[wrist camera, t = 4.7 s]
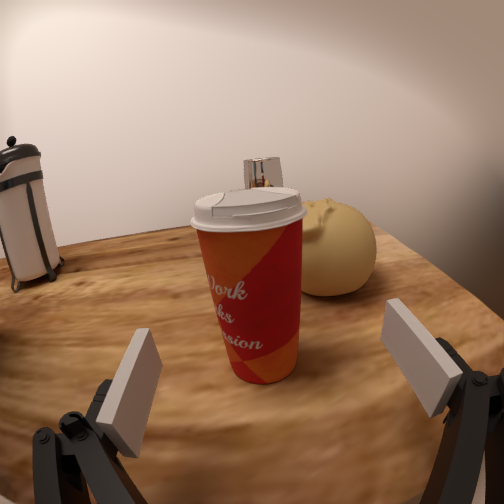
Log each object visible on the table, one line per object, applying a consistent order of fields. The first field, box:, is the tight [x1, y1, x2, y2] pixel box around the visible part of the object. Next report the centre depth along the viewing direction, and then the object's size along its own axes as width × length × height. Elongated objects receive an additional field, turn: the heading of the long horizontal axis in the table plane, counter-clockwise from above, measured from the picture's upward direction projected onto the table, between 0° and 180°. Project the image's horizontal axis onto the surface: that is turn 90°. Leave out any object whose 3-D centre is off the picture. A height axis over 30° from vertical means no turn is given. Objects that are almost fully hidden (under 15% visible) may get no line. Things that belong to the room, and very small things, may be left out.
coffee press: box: [0, 136, 64, 292], centre depth 42 cm, size 17×16×30 cm
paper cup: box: [191, 187, 307, 384], centre depth 21 cm, size 8×8×14 cm
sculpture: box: [301, 198, 376, 296], centre depth 33 cm, size 12×12×11 cm
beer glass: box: [244, 157, 283, 190], centre depth 52 cm, size 7×7×15 cm
